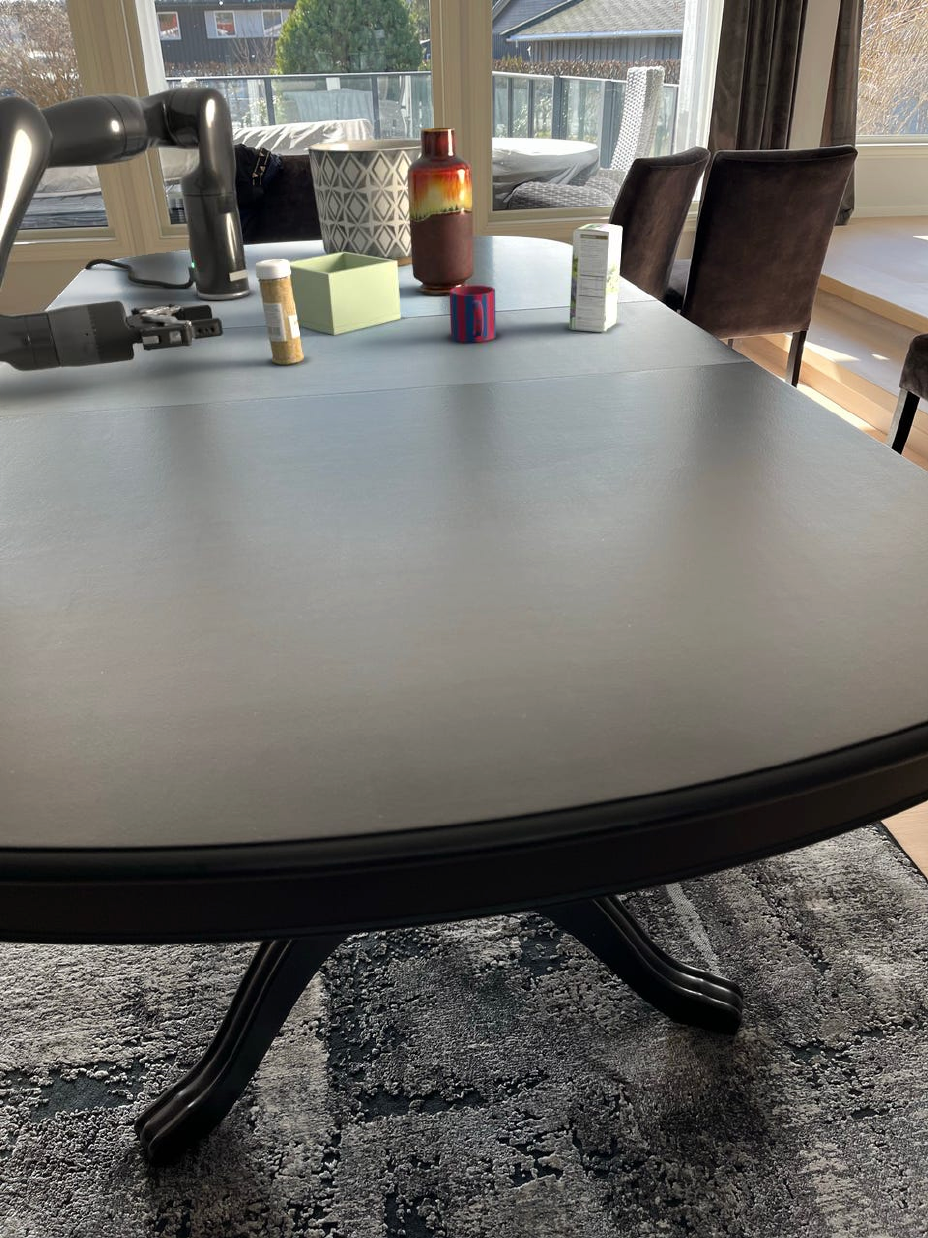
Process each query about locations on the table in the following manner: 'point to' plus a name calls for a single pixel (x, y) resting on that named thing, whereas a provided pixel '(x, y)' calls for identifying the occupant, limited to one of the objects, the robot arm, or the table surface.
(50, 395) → the table surface
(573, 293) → the syrup box
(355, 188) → the planter
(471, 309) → the mug
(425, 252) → the vase
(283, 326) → the sprinkles bottle
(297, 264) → the open storage bin
